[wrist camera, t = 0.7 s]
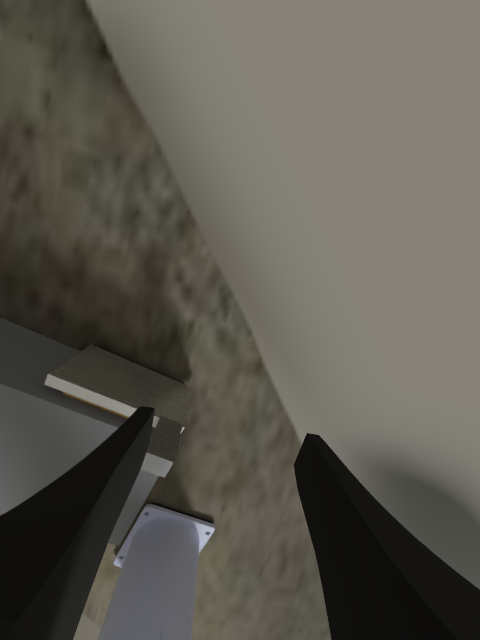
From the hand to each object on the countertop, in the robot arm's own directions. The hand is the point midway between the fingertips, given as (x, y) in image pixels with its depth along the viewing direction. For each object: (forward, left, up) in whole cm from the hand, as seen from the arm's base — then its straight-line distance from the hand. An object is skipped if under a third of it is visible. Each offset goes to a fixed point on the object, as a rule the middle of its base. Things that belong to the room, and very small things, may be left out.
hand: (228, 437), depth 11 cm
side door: (-5, +6, -9) cm, 12 cm away
